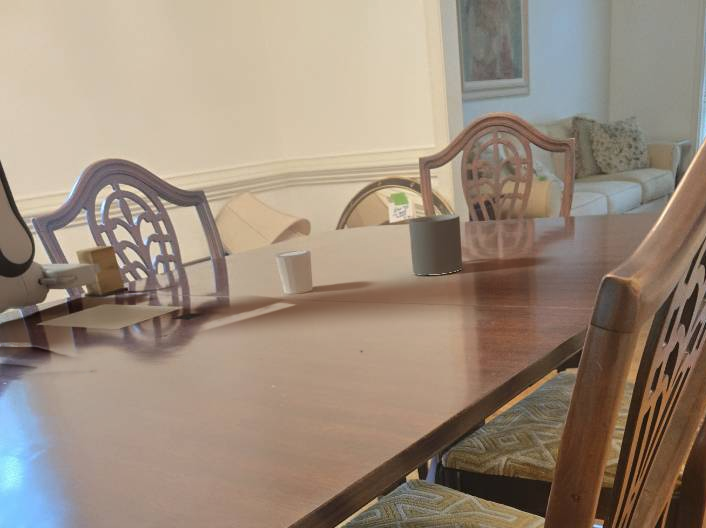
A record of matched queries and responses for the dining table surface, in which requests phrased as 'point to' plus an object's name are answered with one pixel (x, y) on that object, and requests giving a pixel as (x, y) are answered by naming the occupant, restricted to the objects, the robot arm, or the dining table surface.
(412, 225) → the coffee mug
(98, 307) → the note board
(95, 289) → the eraser
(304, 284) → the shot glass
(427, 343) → the dining table surface
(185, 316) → the smudge
